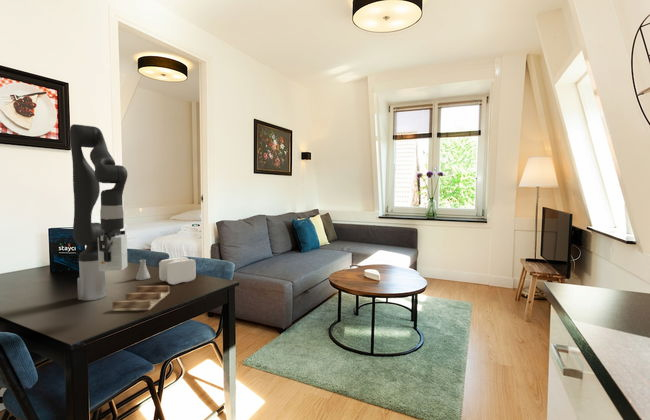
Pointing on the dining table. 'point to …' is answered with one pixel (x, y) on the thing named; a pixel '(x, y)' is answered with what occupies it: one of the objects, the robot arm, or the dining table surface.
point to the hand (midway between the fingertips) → (113, 259)
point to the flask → (142, 271)
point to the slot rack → (142, 298)
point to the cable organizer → (177, 270)
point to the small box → (114, 254)
